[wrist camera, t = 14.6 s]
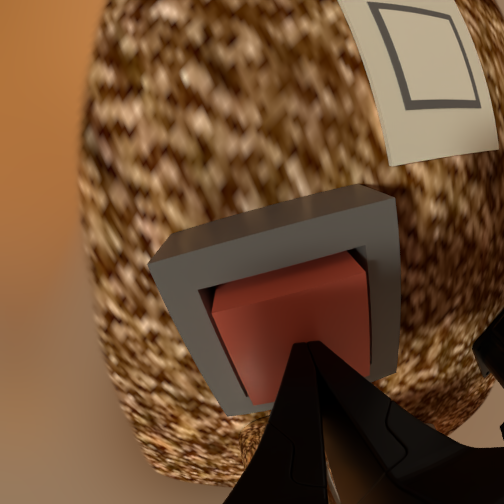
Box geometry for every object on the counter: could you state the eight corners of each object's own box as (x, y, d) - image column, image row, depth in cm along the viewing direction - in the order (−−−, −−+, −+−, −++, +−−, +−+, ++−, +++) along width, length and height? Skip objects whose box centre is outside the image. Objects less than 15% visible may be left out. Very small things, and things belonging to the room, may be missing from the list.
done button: (346, 328, 12) (369, 375, 9) (251, 354, 12) (253, 405, 9) (334, 237, 10) (366, 272, 7) (219, 268, 10) (211, 312, 7)
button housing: (373, 333, 13) (396, 372, 10) (229, 371, 13) (227, 416, 10) (357, 183, 10) (395, 197, 7) (171, 233, 11) (147, 264, 8)
